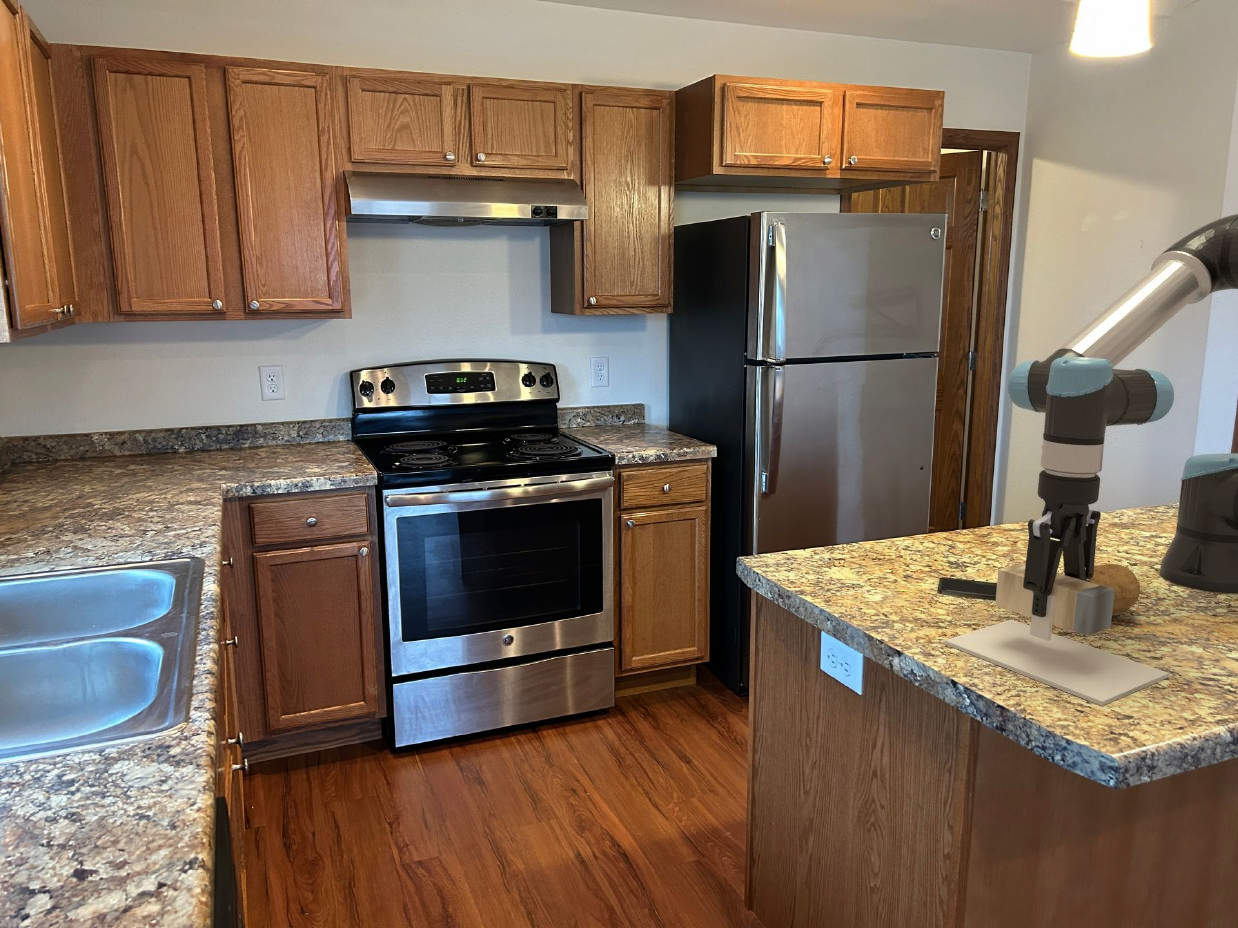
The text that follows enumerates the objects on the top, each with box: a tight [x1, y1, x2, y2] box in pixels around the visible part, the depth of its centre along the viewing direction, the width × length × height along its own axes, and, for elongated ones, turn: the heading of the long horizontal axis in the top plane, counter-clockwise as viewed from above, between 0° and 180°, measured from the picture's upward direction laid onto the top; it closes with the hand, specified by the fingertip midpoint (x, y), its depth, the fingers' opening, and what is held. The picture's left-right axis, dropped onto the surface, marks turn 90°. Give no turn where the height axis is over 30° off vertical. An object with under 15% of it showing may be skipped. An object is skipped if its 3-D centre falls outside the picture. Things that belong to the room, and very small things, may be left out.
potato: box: [1085, 563, 1141, 616], centre depth 147 cm, size 10×14×8 cm
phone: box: [937, 576, 997, 602], centre depth 159 cm, size 8×1×15 cm
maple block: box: [994, 562, 1115, 637], centre depth 129 cm, size 6×6×14 cm
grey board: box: [944, 619, 1170, 707], centre depth 130 cm, size 24×16×1 cm, turn 33°
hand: (1053, 632), depth 129 cm, fingers closed on maple block, 5 cm apart
